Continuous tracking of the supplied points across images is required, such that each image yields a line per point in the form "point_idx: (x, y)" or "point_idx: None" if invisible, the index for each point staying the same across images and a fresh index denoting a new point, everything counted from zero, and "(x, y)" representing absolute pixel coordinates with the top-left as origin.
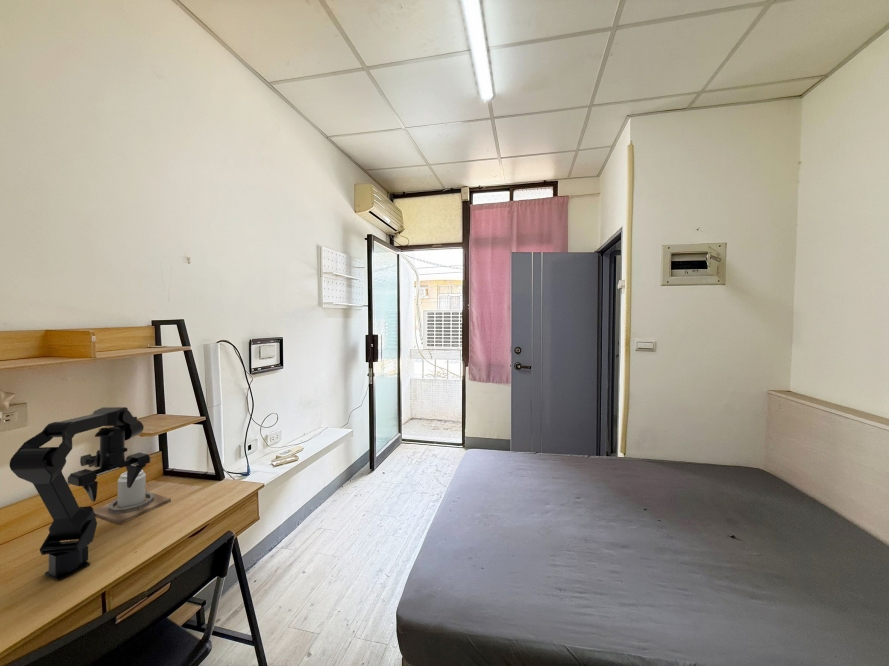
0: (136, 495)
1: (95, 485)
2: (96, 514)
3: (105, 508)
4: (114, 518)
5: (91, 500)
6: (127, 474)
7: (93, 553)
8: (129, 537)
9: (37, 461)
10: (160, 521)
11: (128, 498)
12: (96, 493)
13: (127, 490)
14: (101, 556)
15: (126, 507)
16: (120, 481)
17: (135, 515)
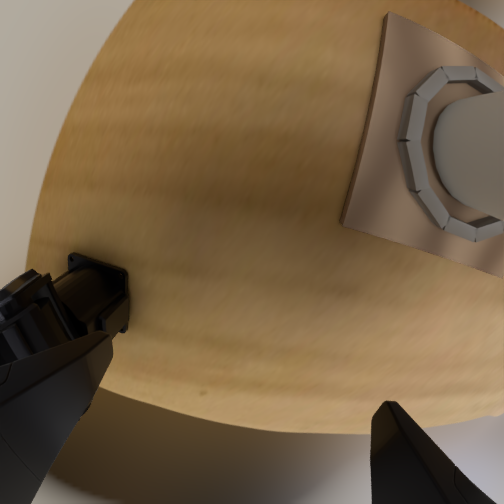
0: (487, 211)
1: (20, 491)
2: (382, 52)
3: (425, 57)
4: (362, 175)
5: (96, 333)
6: (435, 500)
7: (162, 294)
8: (260, 332)
9: None
10: (364, 351)
11: (466, 182)
12: (72, 426)
13: (496, 184)
14: (160, 328)
15: (437, 168)
16: None
17: (399, 241)
